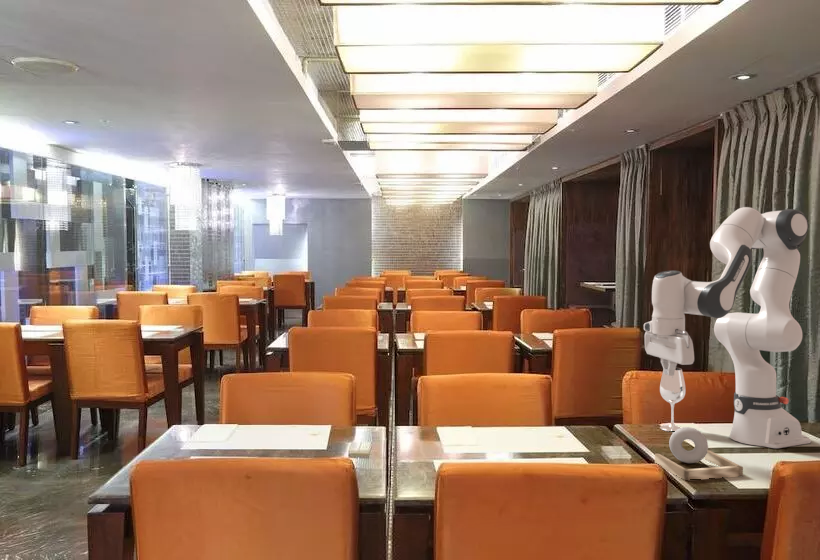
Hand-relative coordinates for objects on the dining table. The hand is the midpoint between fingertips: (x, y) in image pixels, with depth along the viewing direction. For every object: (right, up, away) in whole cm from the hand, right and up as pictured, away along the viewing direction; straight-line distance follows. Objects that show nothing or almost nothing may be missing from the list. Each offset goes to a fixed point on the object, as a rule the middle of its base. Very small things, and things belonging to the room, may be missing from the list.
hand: (668, 374), depth 188 cm
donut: (+2, -23, -8) cm, 25 cm away
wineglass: (+11, -22, +25) cm, 35 cm away
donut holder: (+2, -23, -14) cm, 27 cm away
